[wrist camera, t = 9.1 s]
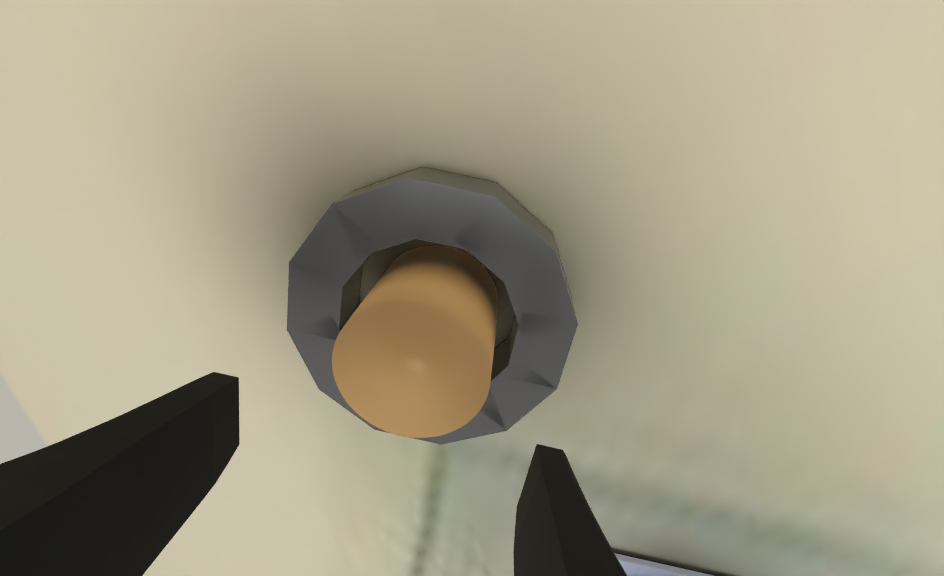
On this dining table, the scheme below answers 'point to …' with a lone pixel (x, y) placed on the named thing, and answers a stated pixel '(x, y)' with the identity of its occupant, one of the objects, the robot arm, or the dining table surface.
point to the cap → (420, 344)
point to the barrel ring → (456, 225)
